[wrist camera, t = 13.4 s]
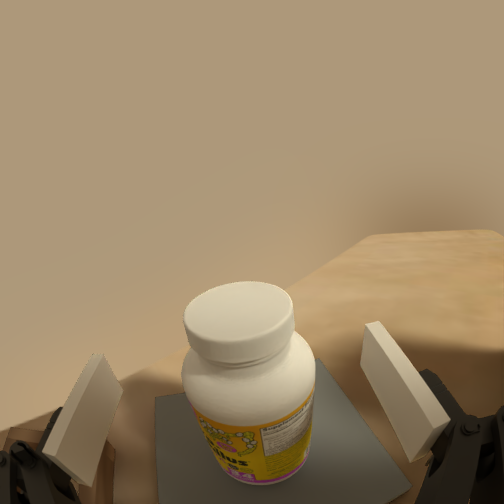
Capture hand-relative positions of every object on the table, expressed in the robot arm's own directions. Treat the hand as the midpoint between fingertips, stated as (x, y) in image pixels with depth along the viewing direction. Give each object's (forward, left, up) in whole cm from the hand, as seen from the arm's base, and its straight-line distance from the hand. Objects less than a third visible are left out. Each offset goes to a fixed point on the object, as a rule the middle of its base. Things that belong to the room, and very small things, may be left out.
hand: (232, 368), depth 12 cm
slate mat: (0, 0, -11) cm, 11 cm away
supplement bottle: (-1, 0, -10) cm, 10 cm away
